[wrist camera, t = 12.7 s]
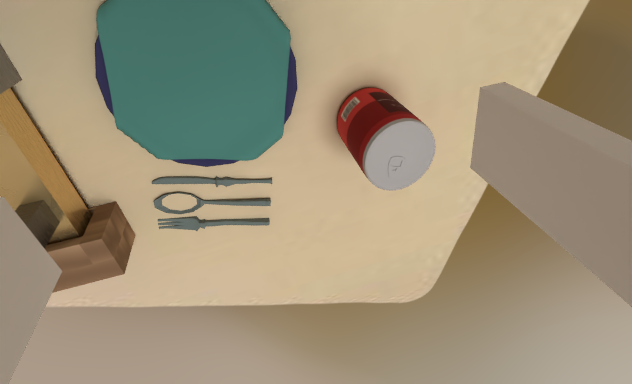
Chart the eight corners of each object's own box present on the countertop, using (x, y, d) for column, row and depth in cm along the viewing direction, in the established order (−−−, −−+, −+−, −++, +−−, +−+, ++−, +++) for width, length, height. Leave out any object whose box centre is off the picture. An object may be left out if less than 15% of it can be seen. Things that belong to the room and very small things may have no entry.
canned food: (336, 150, 47) (364, 197, 38) (333, 90, 43) (364, 127, 34) (392, 140, 48) (431, 184, 40) (395, 81, 44) (440, 114, 35)
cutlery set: (303, -16, 36) (308, -14, 34) (281, 221, 53) (283, 231, 51) (78, -45, 32) (69, -44, 30) (130, 226, 48) (127, 237, 46)
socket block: (30, 222, 43) (2, 263, 38) (116, 201, 44) (101, 238, 39) (55, 254, 46) (33, 297, 41) (135, 235, 48) (124, 273, 42)
